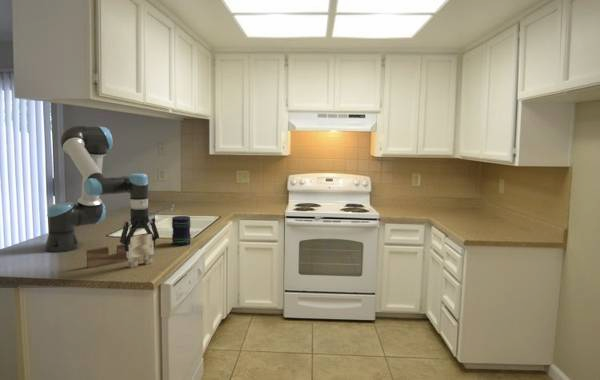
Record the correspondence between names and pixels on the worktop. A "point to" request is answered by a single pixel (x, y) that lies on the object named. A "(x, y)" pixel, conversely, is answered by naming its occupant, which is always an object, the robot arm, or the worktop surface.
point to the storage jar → (181, 230)
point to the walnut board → (105, 256)
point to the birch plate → (140, 249)
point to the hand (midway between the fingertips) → (140, 255)
